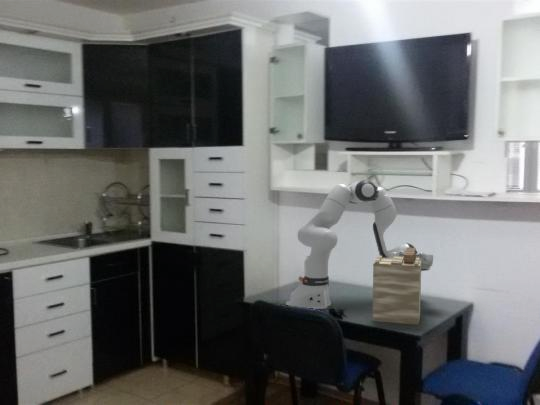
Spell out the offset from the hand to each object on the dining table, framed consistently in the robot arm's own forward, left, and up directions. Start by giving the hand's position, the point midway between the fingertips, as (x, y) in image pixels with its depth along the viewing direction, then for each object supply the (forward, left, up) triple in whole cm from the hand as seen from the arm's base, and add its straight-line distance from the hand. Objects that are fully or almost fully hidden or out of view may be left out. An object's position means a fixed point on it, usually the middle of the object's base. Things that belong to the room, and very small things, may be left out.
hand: (410, 253), depth 264 cm
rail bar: (-4, -5, -2) cm, 7 cm away
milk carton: (-23, +57, -28) cm, 67 cm away
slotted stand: (-12, -6, -28) cm, 31 cm away
